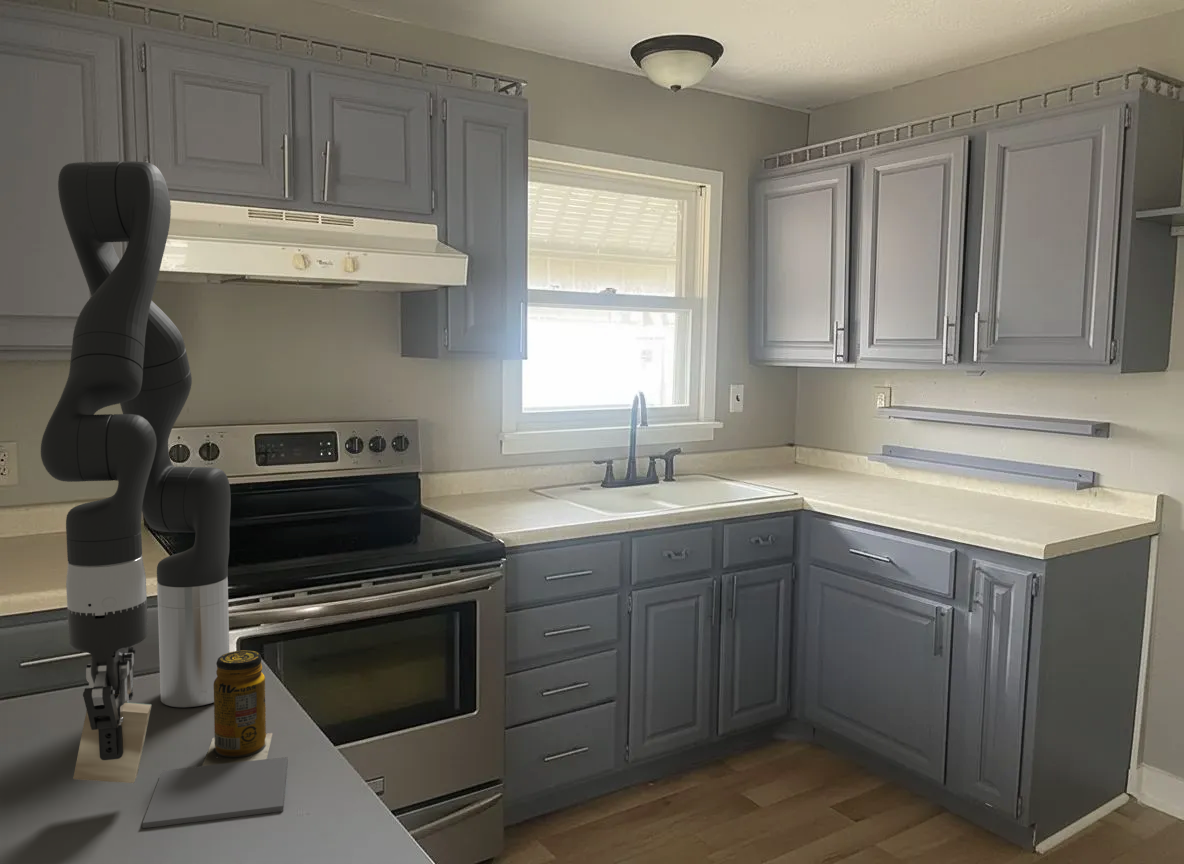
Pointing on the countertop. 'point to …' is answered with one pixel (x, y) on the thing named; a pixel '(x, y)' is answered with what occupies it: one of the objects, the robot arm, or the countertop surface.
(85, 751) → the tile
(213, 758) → the condiment
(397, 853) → the countertop surface
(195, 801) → the mat
